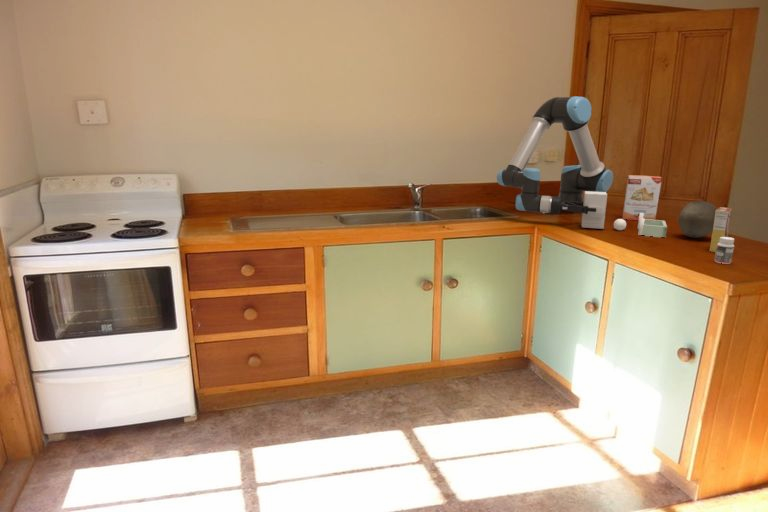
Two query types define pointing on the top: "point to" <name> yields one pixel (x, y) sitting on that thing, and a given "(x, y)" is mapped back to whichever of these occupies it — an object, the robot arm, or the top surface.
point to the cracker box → (641, 197)
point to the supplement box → (594, 218)
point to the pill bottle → (724, 250)
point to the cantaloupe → (697, 219)
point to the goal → (651, 227)
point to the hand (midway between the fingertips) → (605, 208)
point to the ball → (620, 224)
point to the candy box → (720, 226)
